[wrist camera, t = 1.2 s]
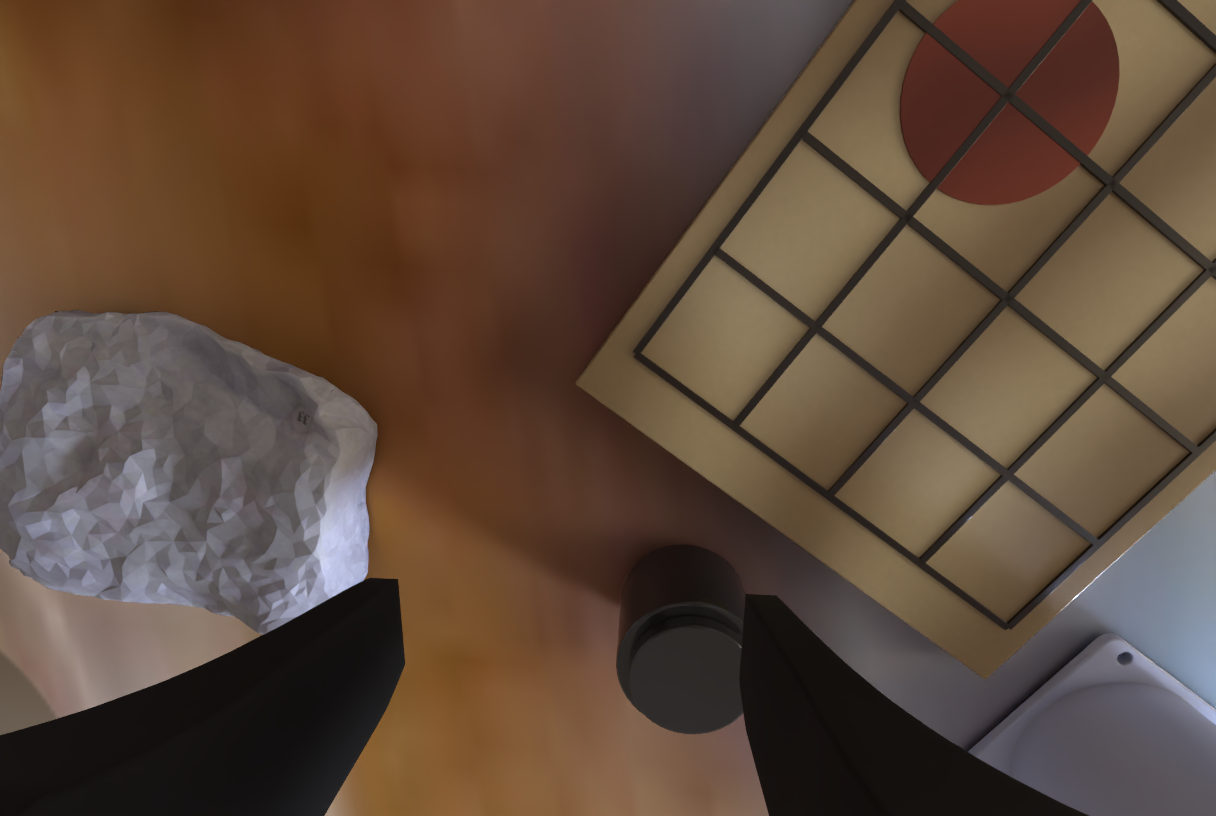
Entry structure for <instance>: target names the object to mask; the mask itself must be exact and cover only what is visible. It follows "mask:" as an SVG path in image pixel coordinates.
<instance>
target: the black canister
mask: <svg viewBox="0 0 1216 816" xmlns="http://www.w3.org/2000/svg"><path fill="white" fill-rule="evenodd" d="M745 595H746V593H745V590H744V587H743V584H742V581H741V579H740V577H739V575H738V573H737V572H736V571H735V569H734V568H733V567H732V566H731V565H730V564H729V563H728V562H727V561H726V560H725V559H724V558H722V557H721V556H719V555H718V554H716V553H714V552H712V551H710V550H708V549H705V548H701V547H697V546H692V545H673V546H668V547H664V548H661V549H658V550H656V551H653V552H651V553H650V554H648V555H646V556H645V557H643V558H642V559H641V560H640V561H638V562H637V563H636V564H635V566H634V567H633V568H632V569H631V571H630V572H629V573H628V575H627V577H626V579H625V581H624V584H623V587H622V592H621V603H620V617H619V631H618V645H617V660H616V668H617V676H618V680H619V683H620V685H621V688H622V690H623V692H624V693H625V695H626V697H627V698H628V700H629V701H630V702H631V703H632V705H633V706H634V707H635V708H636V709H637V710H638V711H640V712H641V713H642V714H644V715H645V716H646V717H647V718H648V719H650V720H651V721H652V722H654V723H655V724H657V725H659V726H660V727H663V728H665V729H667V730H670V731H673V732H678V733H683V734H703V733H709V732H713V731H716V730H719V729H721V728H723V727H725V726H727V725H729V724H731V723H732V722H733V721H735V720H736V719H737V718H738V717H739V716H741V714H742V713H743V706H742V699H741V692H740V685H739V675H740V661H741V648H742V635H743V621H744V608H745Z"/></svg>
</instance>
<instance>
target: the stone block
mask: <svg viewBox="0 0 1216 816" xmlns="http://www.w3.org/2000/svg"><path fill="white" fill-rule="evenodd" d="M3 371H4V372H3V376H2V388H1V391H0V548H1V549H2V550H3V551H4V552H5V553H6V554H7V555H8V556H9V558H10V560H9V563H10V565H11V567H14V568H17V569H19V570H20V571H21V573H22V574H23V575H24V576H27V577H31V578H32V579H33V580H35V581H37V582H39V583H40V584H42V585H44V586H45V587H47V588H49V589H54V590H58V591H63V592H69V593H72V594H76V595H84V596H92V597H97V598H100V599H106V600H118V601H125V602H135V603H168V604H179V605H187V606H195V607H200V608H205V609H207V610H209V611H211V612H213V613H216V614H220V615H226V616H234V617H236V618H238V619H239V620H241V621H242V622H244V623H245V624H246V625H247V626H249V627H250V628H252V629H253V630H254V631H256V632H258V633H260V634H263V635H264V634H266V633H268V632H270V631H272V630H274V629H276V628H277V627H279V626H281V625H283V624H285V623H287V622H289V621H290V620H292V619H294V618H296V617H297V616H299V615H301V614H303V613H305V612H306V611H308V610H310V609H312V608H314V607H315V606H317V605H319V604H321V603H323V602H324V601H326V600H328V599H330V598H331V597H333V596H335V595H337V594H339V593H341V592H342V591H344V590H346V589H348V588H350V587H352V586H354V585H356V584H358V583H360V582H362V581H364V579H365V577H366V575H367V573H368V547H367V542H368V537H369V517H368V512H367V506H366V485H367V481H368V478H369V474H370V471H371V468H372V465H373V462H374V455H375V447H376V440H377V424H376V423H375V421H374V420H373V419H372V418H371V417H370V415H369V414H368V412H367V411H366V410H365V409H364V408H363V407H362V406H361V405H360V404H359V403H358V402H357V401H356V400H355V399H354V398H352V397H351V396H349V395H348V394H346V393H343V392H342V391H341V390H340V389H338V388H337V387H336V386H334V385H333V384H331V383H330V382H328V381H327V380H326V379H324V378H323V377H318V376H315V375H313V374H311V373H309V372H307V371H304V370H302V369H299V368H297V367H295V366H293V365H291V364H288V363H284V362H282V361H279V360H277V359H274V358H272V357H269V356H267V355H264V354H263V353H262V352H260V351H259V350H256V349H253V348H250V347H249V346H247V345H245V344H242V343H240V342H237V341H232V340H229V339H227V338H224V337H222V336H220V335H218V334H217V333H215V332H214V331H212V330H211V329H209V328H208V327H206V326H203V325H200V324H198V323H195V322H192V321H190V320H188V319H185V318H183V317H180V316H178V315H176V314H172V313H168V312H158V311H155V312H146V313H142V314H128V315H127V314H122V313H115V312H105V313H90V312H85V311H80V310H72V311H55V312H54V313H51V314H50V315H47V316H42V317H40V318H37V319H35V320H34V321H33V322H32V323H31V324H30V325H29V326H27V327H26V328H25V329H24V330H23V334H22V336H20V337H18V338H17V340H16V342H15V344H14V345H13V347H12V349H11V351H10V353H9V355H8V357H7V359H6V361H5V363H4V365H3Z"/></svg>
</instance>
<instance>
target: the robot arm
mask: <svg viewBox="0 0 1216 816" xmlns="http://www.w3.org/2000/svg"><path fill="white" fill-rule="evenodd" d="M1123 652H1124V653H1123ZM1121 653H1123V654H1122V655H1121V656H1119V654H1121ZM1118 656H1119V657H1118ZM404 666H405V657H404V645H403V633H402V622H401V610H400V598H399V586H398V579H381V578H369V579H366V580H364V581H362V582H360V583H358V584H356V585H354V586H352V587H350V588H348V589H346V590H344V591H342V592H341V593H339V594H337V595H335V596H333V597H331V598H330V599H328V600H326V601H324V602H323V603H321V604H319V605H317V606H315V607H314V608H312V609H310V610H308V611H306V612H305V613H303V614H301V615H299V616H297V617H296V618H294V619H292V620H290V621H289V622H287V623H285V624H283V625H281V626H279V627H277V628H276V629H274V630H272V631H270V632H268V633H266V634H264V635H262V636H260V637H258V638H256V639H254V640H252V641H250V642H248V643H246V644H244V645H243V646H241V647H239V648H237V649H235V650H233V651H231V652H229V653H227V654H225V655H223V656H220V657H218V658H216V659H214V660H212V661H210V662H207V663H205V664H203V665H201V666H199V667H196V668H194V669H192V670H189V671H187V672H185V673H182V674H180V675H178V676H175V677H173V678H171V679H168V680H166V681H163V682H161V683H158V684H156V685H153V686H150V687H148V688H145V689H142V690H139V691H137V692H134V693H131V694H128V695H126V696H123V697H120V698H117V699H115V700H112V701H109V702H106V703H104V704H101V705H98V706H96V707H93V708H90V709H87V710H84V711H81V712H77V713H74V714H71V715H68V716H65V717H62V718H58V719H55V720H52V721H49V722H45V723H42V724H38V725H35V726H32V727H28V728H25V729H21V730H18V731H14V732H11V733H7V734H3V735H0V816H324V815H325V813H326V812H327V810H328V808H329V807H330V805H331V803H332V802H333V800H334V798H335V796H336V795H337V793H338V791H339V790H340V788H341V786H342V785H343V783H344V781H345V780H346V778H347V776H348V774H349V773H350V771H351V769H352V768H353V766H354V764H355V763H356V761H357V759H358V757H359V756H360V754H361V752H362V751H363V749H364V747H365V746H366V744H367V742H368V740H369V739H370V737H371V735H372V733H373V732H374V730H375V728H376V726H377V725H378V723H379V721H380V719H381V718H382V716H383V714H384V712H385V711H386V708H387V706H388V704H389V702H390V699H391V697H392V695H393V693H394V690H395V688H396V685H397V683H398V680H399V678H400V676H401V673H402V671H403V668H404ZM739 685H740V692H741V699H742V706H743V713H744V719H745V726H746V731H747V735H748V739H749V743H750V747H751V750H752V754H753V758H754V762H755V765H756V769H757V773H758V776H759V780H760V784H761V787H762V791H763V795H764V798H765V802H766V806H767V809H768V813H769V816H1216V709H1215V708H1214V707H1212V706H1211V705H1210V704H1208V703H1207V702H1206V701H1204V700H1203V699H1202V698H1200V697H1199V696H1198V695H1196V694H1195V693H1194V692H1192V691H1191V690H1190V689H1188V688H1187V687H1186V686H1184V685H1183V684H1182V683H1180V682H1179V681H1178V680H1176V679H1175V678H1174V677H1173V676H1171V675H1170V674H1169V673H1167V672H1166V671H1165V670H1163V669H1162V668H1161V667H1159V666H1158V665H1157V664H1155V663H1154V662H1153V661H1151V660H1150V659H1149V658H1147V657H1146V656H1145V655H1143V654H1142V653H1141V652H1139V651H1138V650H1137V649H1135V648H1134V647H1133V646H1131V645H1130V644H1129V643H1127V642H1126V641H1125V640H1123V639H1122V638H1121V637H1119V636H1118V635H1116V634H1114V633H1106V634H1102V635H1101V636H1099V637H1097V638H1096V639H1095V640H1094V641H1093V642H1092V643H1091V644H1089V645H1088V646H1087V647H1086V648H1085V649H1084V650H1083V651H1082V652H1080V653H1079V654H1078V655H1077V656H1076V657H1075V658H1074V659H1072V660H1071V661H1070V662H1069V663H1068V664H1067V665H1066V666H1064V667H1063V668H1062V669H1061V670H1060V671H1059V672H1058V673H1057V674H1055V675H1054V676H1053V677H1052V678H1051V679H1050V680H1049V681H1047V682H1046V683H1045V684H1044V685H1043V686H1042V687H1041V688H1039V689H1038V690H1037V691H1036V692H1035V693H1034V694H1033V695H1032V696H1030V697H1029V698H1028V699H1027V700H1026V701H1025V702H1024V703H1022V704H1021V705H1020V706H1019V707H1018V708H1017V709H1016V710H1014V711H1013V712H1012V713H1011V714H1010V715H1009V716H1008V717H1007V718H1005V719H1004V720H1003V721H1002V722H1001V723H1000V724H999V725H997V726H996V727H995V728H994V729H993V730H992V731H991V732H989V733H988V734H987V735H986V736H985V737H984V738H983V739H982V740H980V741H979V742H978V743H977V744H976V745H975V746H974V747H972V748H971V749H970V750H969V751H968V752H967V751H965V750H964V749H962V748H961V747H959V746H957V745H956V744H954V743H952V742H951V741H949V740H947V739H946V738H944V737H943V736H941V735H940V734H938V733H937V732H935V731H934V730H932V729H931V728H929V727H928V726H926V725H925V724H923V723H922V722H920V721H919V720H918V719H916V718H915V717H913V716H912V715H911V714H909V713H908V712H906V711H905V710H904V709H902V708H901V707H899V706H898V705H897V704H895V703H894V702H892V701H891V700H890V699H889V698H887V697H886V696H885V695H883V694H882V693H881V692H880V691H878V690H877V689H876V688H875V687H873V686H872V685H871V684H870V683H869V682H867V681H866V680H865V679H864V678H863V677H861V676H860V675H859V674H858V673H857V672H855V671H854V670H853V669H852V668H851V667H850V666H849V665H847V664H846V663H845V662H844V661H843V660H842V659H841V658H840V657H838V656H837V655H836V654H835V653H834V652H833V651H832V650H831V649H830V648H829V647H828V646H827V645H826V644H825V643H823V642H822V641H821V640H820V639H819V638H818V637H817V636H816V635H815V634H814V633H813V632H812V631H811V630H810V629H809V628H808V627H807V626H806V625H805V624H804V623H803V622H802V621H801V620H800V619H799V618H798V617H797V616H796V615H795V614H794V613H793V612H792V611H791V610H790V609H789V608H788V607H787V606H786V605H785V604H784V603H783V602H782V601H781V600H780V599H779V598H778V597H777V596H776V595H754V594H746V595H745V608H744V621H743V635H742V648H741V661H740V675H739Z"/></svg>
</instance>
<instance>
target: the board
mask: <svg viewBox="0 0 1216 816" xmlns="http://www.w3.org/2000/svg"><path fill="white" fill-rule="evenodd" d="M576 385H577V386H578V387H580V388H581V389H582V390H584V391H585V392H587V393H588V394H589V395H591V396H592V397H593V398H595V399H596V400H598V401H599V402H600V403H602V404H603V405H605V406H606V407H607V408H609V409H610V410H611V411H613V412H614V413H616V414H617V415H618V416H620V417H621V418H623V419H624V420H625V421H627V422H628V423H630V424H631V425H632V426H634V427H635V428H636V429H638V430H639V431H641V432H642V433H643V434H645V435H646V436H648V437H649V438H650V439H652V440H653V441H654V442H656V443H657V444H659V445H660V446H661V447H663V448H664V449H666V450H667V451H668V452H670V453H671V454H673V455H674V456H675V457H677V458H678V459H679V460H681V461H682V462H684V463H685V464H686V465H688V466H689V467H691V468H692V469H693V470H695V471H696V472H697V473H699V474H700V475H702V476H703V477H704V478H706V479H707V480H709V481H710V482H711V483H713V484H714V485H715V486H717V487H718V488H720V489H721V490H722V491H724V492H725V493H727V494H728V495H729V496H731V497H732V498H734V499H735V500H736V501H738V502H739V503H740V504H742V505H743V506H745V507H746V508H747V509H749V510H750V511H752V512H753V513H754V514H756V515H757V516H758V517H760V518H761V519H763V520H764V521H765V522H767V523H768V524H770V525H771V526H772V527H774V528H775V529H777V530H778V531H779V532H781V533H782V534H783V535H785V536H786V537H788V538H789V539H790V540H792V541H793V542H795V543H796V544H797V545H799V546H800V547H801V548H803V549H804V550H806V551H807V552H808V553H810V554H811V555H813V556H814V557H815V558H817V559H818V560H820V561H821V562H822V563H824V564H825V565H826V566H828V567H829V568H831V569H832V570H833V571H835V572H836V573H838V574H839V575H840V576H842V577H843V578H844V579H846V580H847V581H849V582H850V583H851V584H853V585H854V586H856V587H857V588H858V589H860V590H861V591H863V592H864V593H865V594H867V595H868V596H869V597H871V598H872V599H874V600H875V601H876V602H878V603H879V604H881V605H882V606H883V607H885V608H886V609H887V610H889V611H890V612H892V613H893V614H894V615H896V616H897V617H899V618H900V619H901V620H903V621H904V622H906V623H907V624H908V625H910V626H911V627H912V628H914V629H915V630H917V631H918V632H919V633H921V634H922V635H924V636H925V637H926V638H928V639H929V640H930V641H932V642H933V643H935V644H936V645H937V646H939V647H940V648H942V649H943V650H944V651H946V652H947V653H949V654H950V655H951V656H953V657H954V658H955V659H957V660H958V661H960V662H961V663H962V664H964V665H965V666H967V667H968V668H969V669H971V670H972V671H973V672H975V673H976V674H978V675H979V676H980V677H982V678H983V679H987V678H988V677H989V676H990V675H991V674H992V673H993V672H995V671H996V670H997V669H998V668H999V667H1000V666H1001V665H1002V664H1003V663H1004V662H1006V661H1007V660H1008V659H1009V658H1010V657H1011V656H1012V655H1013V654H1014V653H1015V652H1017V651H1018V650H1019V649H1020V648H1021V647H1022V646H1023V645H1024V644H1025V643H1026V642H1027V641H1029V640H1030V639H1031V638H1032V637H1033V636H1034V635H1035V634H1036V633H1037V632H1038V631H1040V630H1041V629H1042V628H1043V627H1044V626H1045V625H1046V624H1047V623H1048V622H1049V621H1051V620H1052V619H1053V618H1054V617H1055V616H1056V615H1057V614H1058V613H1059V612H1060V611H1062V610H1063V609H1064V608H1065V607H1066V606H1067V605H1068V604H1069V603H1070V602H1071V601H1073V600H1074V599H1075V598H1076V597H1077V596H1078V595H1079V594H1080V593H1081V592H1082V591H1084V590H1085V589H1086V588H1087V587H1088V586H1089V585H1090V584H1091V583H1092V582H1093V581H1095V580H1096V579H1097V578H1098V577H1099V576H1100V575H1101V574H1102V573H1103V572H1104V571H1106V570H1107V569H1108V568H1109V567H1110V566H1111V565H1112V564H1113V563H1114V562H1115V561H1117V560H1118V559H1119V558H1120V557H1121V556H1122V555H1123V554H1124V553H1125V552H1126V551H1127V550H1129V549H1130V548H1131V547H1132V546H1133V545H1134V544H1135V543H1136V542H1137V541H1138V540H1140V539H1141V538H1142V537H1143V536H1144V535H1145V534H1146V533H1147V532H1148V531H1149V530H1151V529H1152V528H1153V527H1154V526H1155V525H1156V524H1157V523H1158V522H1159V521H1160V520H1162V519H1163V518H1164V517H1165V516H1166V515H1167V514H1168V513H1169V512H1170V511H1171V510H1173V509H1174V508H1175V507H1176V506H1177V505H1178V504H1179V503H1180V502H1181V501H1182V500H1184V499H1185V498H1186V497H1187V496H1188V495H1189V494H1190V493H1191V492H1192V491H1193V490H1195V489H1196V488H1197V487H1198V486H1199V485H1200V484H1201V483H1202V482H1203V481H1204V480H1206V479H1207V478H1208V477H1209V476H1210V475H1211V474H1212V473H1213V472H1214V471H1215V470H1216V0H853V1H852V3H851V4H850V6H849V7H848V8H847V10H846V11H845V12H844V14H843V15H842V16H841V18H840V19H839V21H838V22H837V23H836V25H835V26H834V27H833V29H832V30H831V32H830V33H829V34H828V36H827V37H826V38H825V40H824V41H823V43H822V44H821V45H820V47H819V48H818V49H817V51H816V52H815V54H814V55H813V56H812V58H811V59H810V60H809V62H808V63H807V64H806V66H805V67H804V69H803V70H802V71H801V73H800V74H799V75H798V77H797V78H796V80H795V81H794V82H793V84H792V85H791V86H790V88H789V89H788V91H787V92H786V93H785V95H784V96H783V97H782V99H781V100H780V102H779V103H778V104H777V106H776V107H775V108H774V110H773V111H772V112H771V114H770V115H769V117H768V118H767V119H766V121H765V122H764V123H763V125H762V126H761V128H760V129H759V130H758V132H757V133H756V134H755V136H754V137H753V139H752V140H751V141H750V143H749V144H748V145H747V147H746V148H745V149H744V151H743V152H742V154H741V155H740V156H739V158H738V159H737V160H736V162H735V163H734V165H733V166H732V167H731V169H730V170H729V171H728V173H727V174H726V176H725V177H724V178H723V180H722V181H721V182H720V184H719V185H718V187H717V188H716V189H715V191H714V192H713V193H712V195H711V196H710V197H709V199H708V200H707V202H706V203H705V204H704V206H703V207H702V208H701V210H700V211H699V213H698V214H697V215H696V217H695V218H694V219H693V221H692V222H691V224H690V225H689V226H688V228H687V229H686V230H685V232H684V233H683V235H682V236H681V237H680V239H679V240H678V241H677V243H676V244H675V245H674V247H673V248H672V250H671V251H670V252H669V254H668V255H667V256H666V258H665V259H664V261H663V262H662V263H661V265H660V266H659V267H658V269H657V270H656V272H655V273H654V274H653V276H652V277H651V278H650V280H649V281H648V282H647V284H646V285H645V287H644V288H643V289H642V291H641V292H640V293H639V295H638V296H637V298H636V299H635V300H634V302H633V303H632V304H631V306H630V307H629V309H628V310H627V311H626V313H625V314H624V315H623V317H622V318H621V320H620V321H619V322H618V324H617V325H616V326H615V328H614V329H613V330H612V332H611V333H610V335H609V336H608V337H607V339H606V340H605V341H604V343H603V344H602V346H601V347H600V348H599V350H598V351H597V352H596V354H595V355H594V357H593V358H592V359H591V361H590V362H589V363H588V365H587V366H586V368H585V369H584V370H583V372H582V373H581V374H580V376H579V378H578V380H577V381H576Z"/></svg>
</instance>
